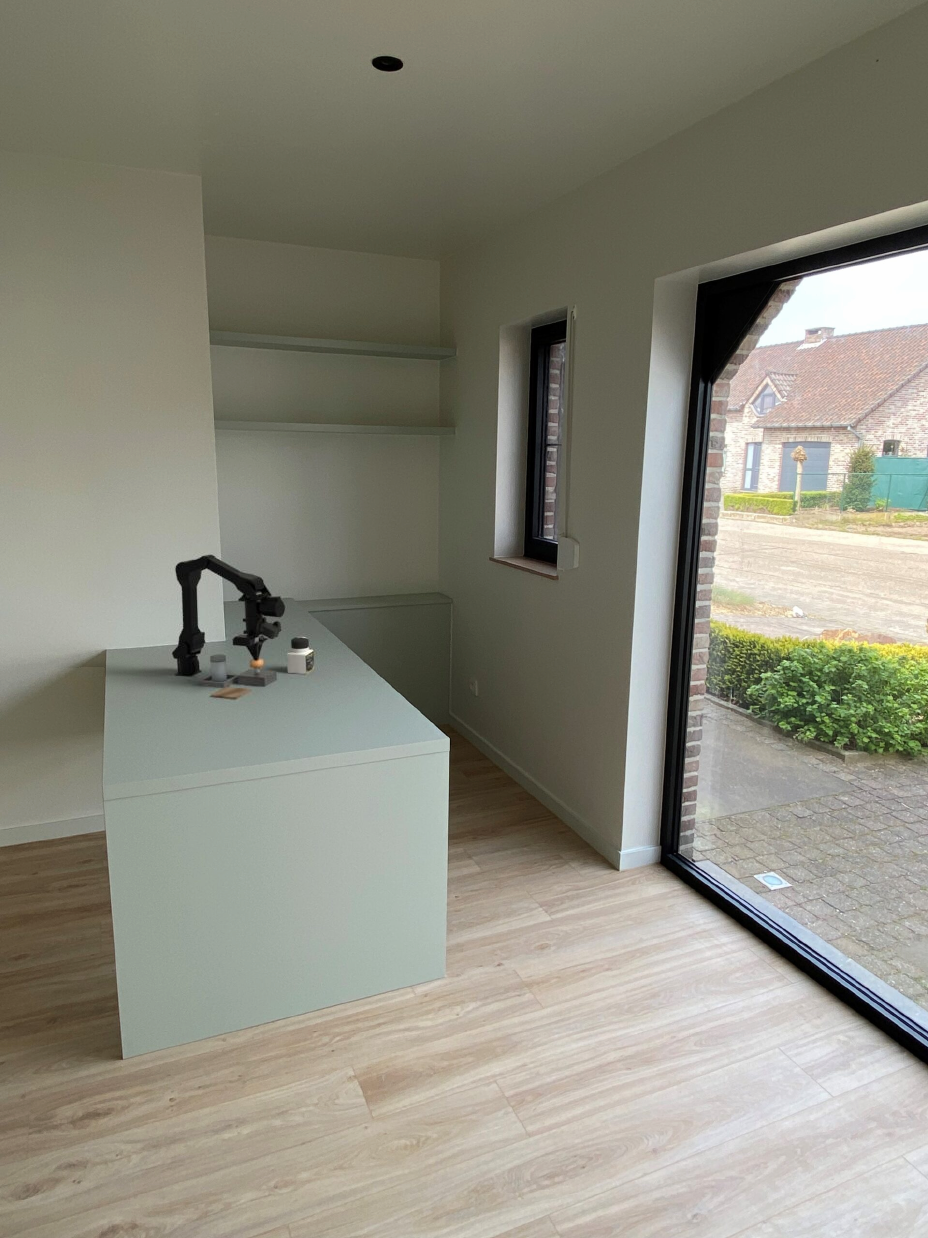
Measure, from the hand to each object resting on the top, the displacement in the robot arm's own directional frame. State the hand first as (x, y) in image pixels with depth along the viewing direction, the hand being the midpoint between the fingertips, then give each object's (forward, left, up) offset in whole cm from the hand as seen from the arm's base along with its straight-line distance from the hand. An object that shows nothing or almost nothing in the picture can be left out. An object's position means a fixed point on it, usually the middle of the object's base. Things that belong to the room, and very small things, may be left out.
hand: (256, 660), depth 267 cm
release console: (0, 0, -8) cm, 8 cm away
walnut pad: (-1, -14, -8) cm, 16 cm away
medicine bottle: (+8, +16, -8) cm, 20 cm away
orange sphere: (0, 0, -4) cm, 4 cm away
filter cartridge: (-12, -4, -8) cm, 15 cm away
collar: (-12, -4, -8) cm, 15 cm away
